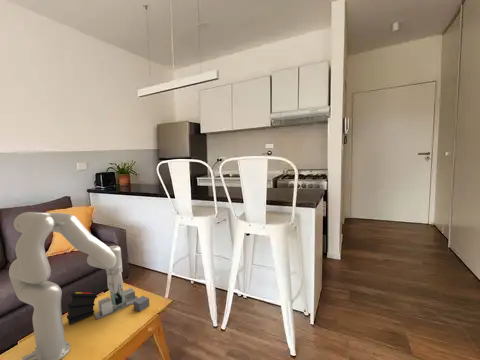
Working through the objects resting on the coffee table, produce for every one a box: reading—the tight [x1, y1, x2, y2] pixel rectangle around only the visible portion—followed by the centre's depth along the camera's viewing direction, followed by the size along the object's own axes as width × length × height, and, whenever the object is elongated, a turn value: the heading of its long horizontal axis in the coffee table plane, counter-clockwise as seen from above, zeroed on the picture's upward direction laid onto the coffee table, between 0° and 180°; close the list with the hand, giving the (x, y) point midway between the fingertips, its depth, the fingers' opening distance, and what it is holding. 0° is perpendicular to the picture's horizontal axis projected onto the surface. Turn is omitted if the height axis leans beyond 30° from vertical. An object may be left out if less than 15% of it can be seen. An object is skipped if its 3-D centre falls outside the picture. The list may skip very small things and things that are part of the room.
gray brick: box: [133, 295, 150, 313], centre depth 137 cm, size 6×5×4 cm
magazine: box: [66, 290, 98, 326], centre depth 129 cm, size 4×13×15 cm, turn 135°
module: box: [109, 290, 124, 307], centre depth 136 cm, size 5×4×7 cm
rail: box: [93, 287, 139, 321], centre depth 137 cm, size 22×5×7 cm, turn 136°
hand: (117, 301), depth 137 cm, fingers closed on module, 4 cm apart
